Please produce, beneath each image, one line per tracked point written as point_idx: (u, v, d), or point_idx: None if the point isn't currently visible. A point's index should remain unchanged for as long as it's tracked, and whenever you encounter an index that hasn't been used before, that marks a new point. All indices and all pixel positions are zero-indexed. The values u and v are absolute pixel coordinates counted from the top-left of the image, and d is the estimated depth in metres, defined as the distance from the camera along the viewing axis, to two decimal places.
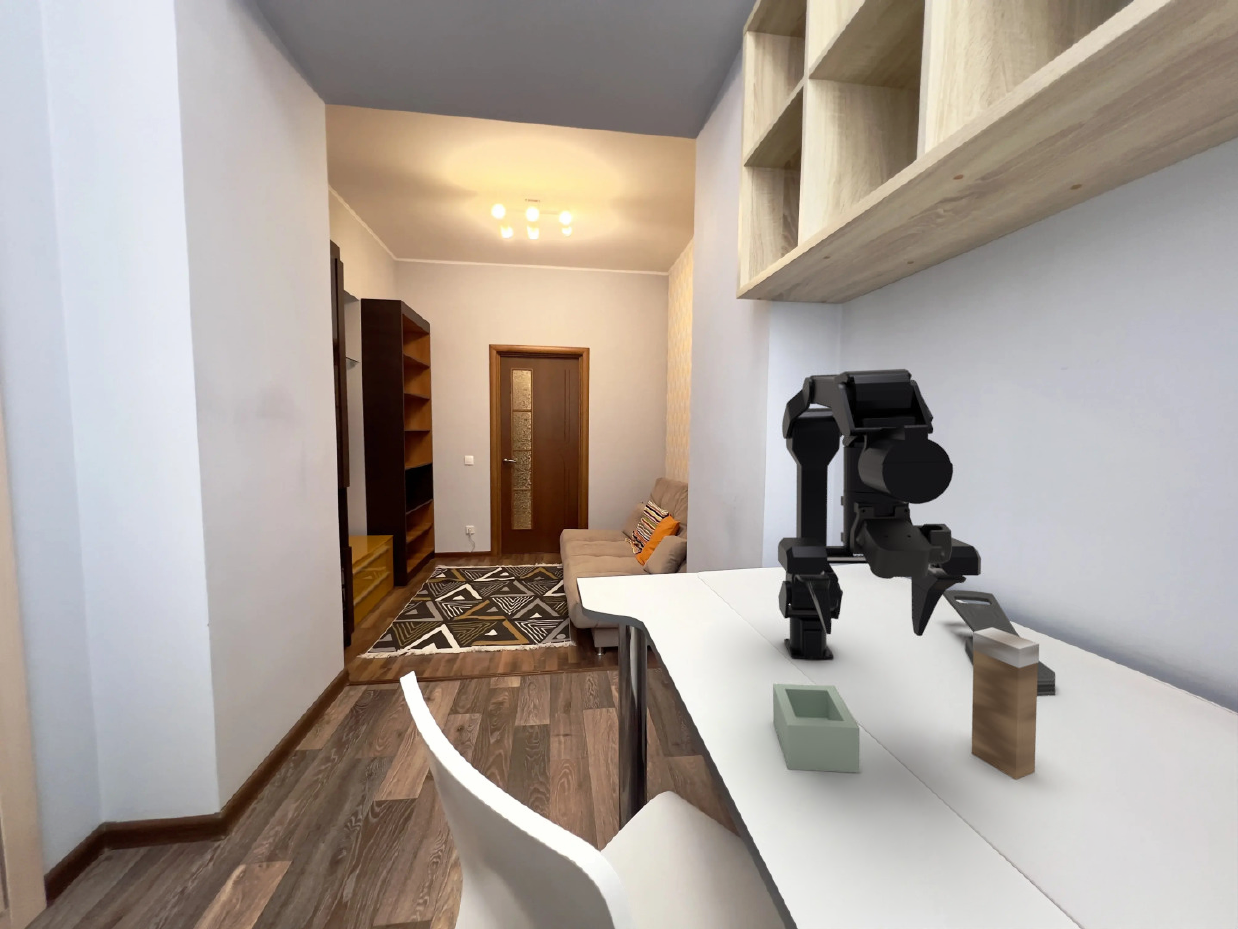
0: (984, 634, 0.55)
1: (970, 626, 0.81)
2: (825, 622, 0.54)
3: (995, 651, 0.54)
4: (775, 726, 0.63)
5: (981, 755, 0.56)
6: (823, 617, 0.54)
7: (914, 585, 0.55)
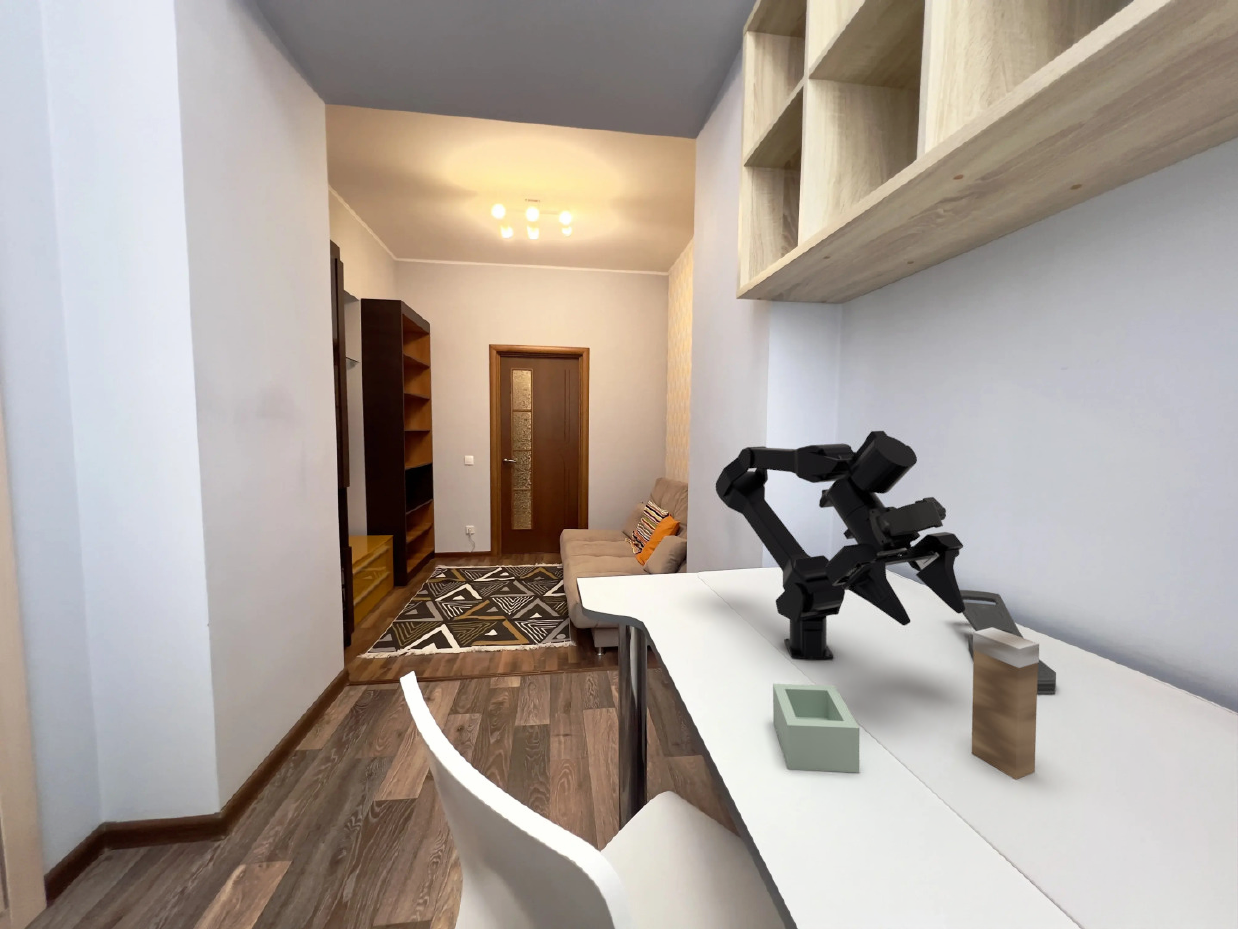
0: (984, 634, 0.55)
1: (973, 625, 0.81)
2: (901, 609, 0.60)
3: (995, 651, 0.54)
4: (775, 726, 0.63)
5: (981, 755, 0.56)
6: (897, 605, 0.61)
7: (930, 582, 0.67)
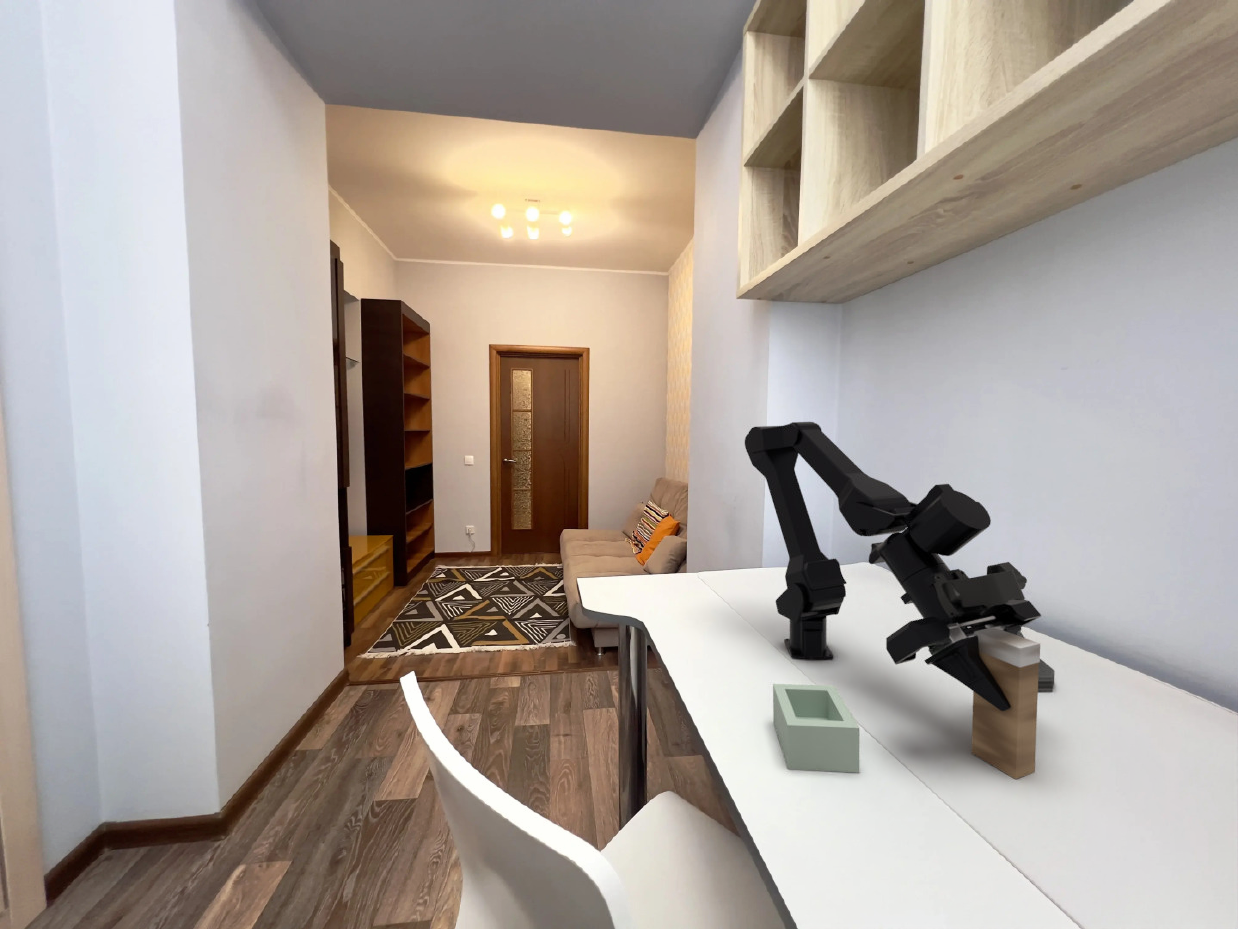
0: (985, 634, 0.55)
1: None
2: (999, 693, 0.53)
3: (996, 650, 0.54)
4: (775, 726, 0.63)
5: (981, 755, 0.56)
6: (994, 688, 0.53)
7: None
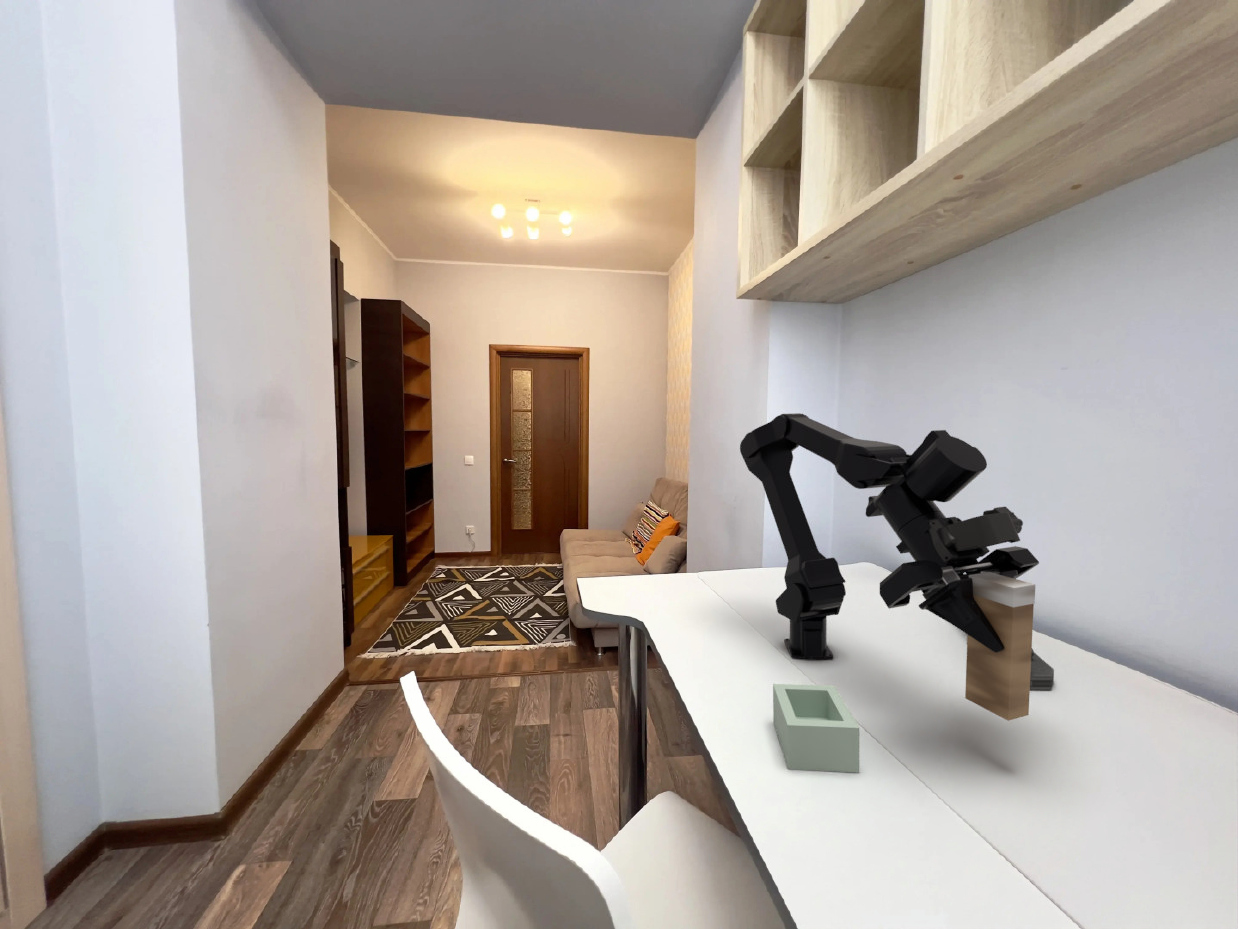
0: (980, 577, 0.55)
1: None
2: (993, 634, 0.53)
3: (990, 592, 0.53)
4: (775, 726, 0.63)
5: (974, 699, 0.55)
6: (988, 629, 0.53)
7: None
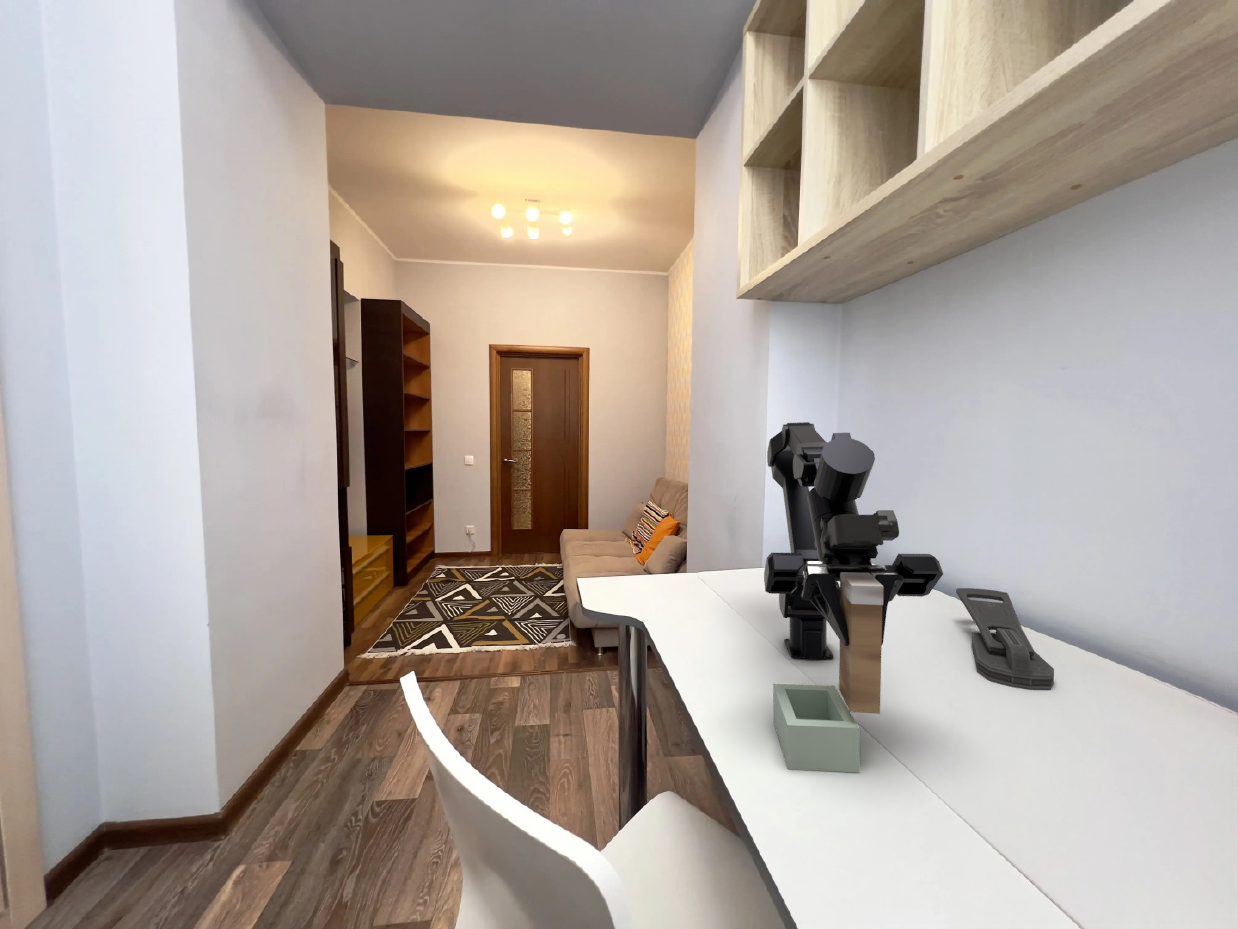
0: (846, 574, 0.57)
1: (976, 622, 0.82)
2: (841, 628, 0.55)
3: (845, 589, 0.56)
4: (775, 726, 0.63)
5: (841, 690, 0.58)
6: (838, 622, 0.56)
7: None
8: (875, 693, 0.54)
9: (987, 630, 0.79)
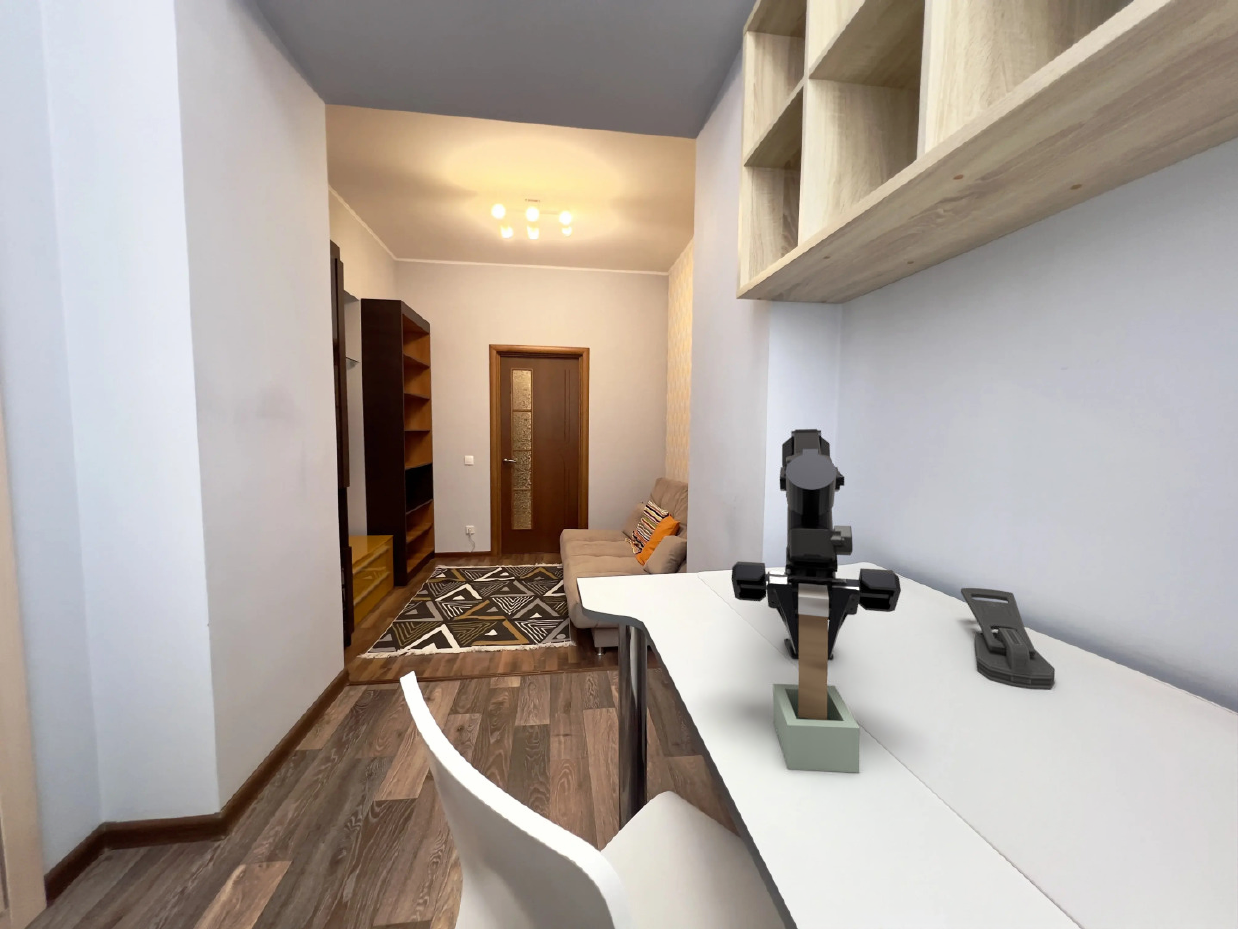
0: (802, 586, 0.59)
1: (978, 622, 0.83)
2: (792, 636, 0.58)
3: None
4: (775, 726, 0.63)
5: None
6: (790, 631, 0.59)
7: None
8: (822, 701, 0.56)
9: (989, 629, 0.79)
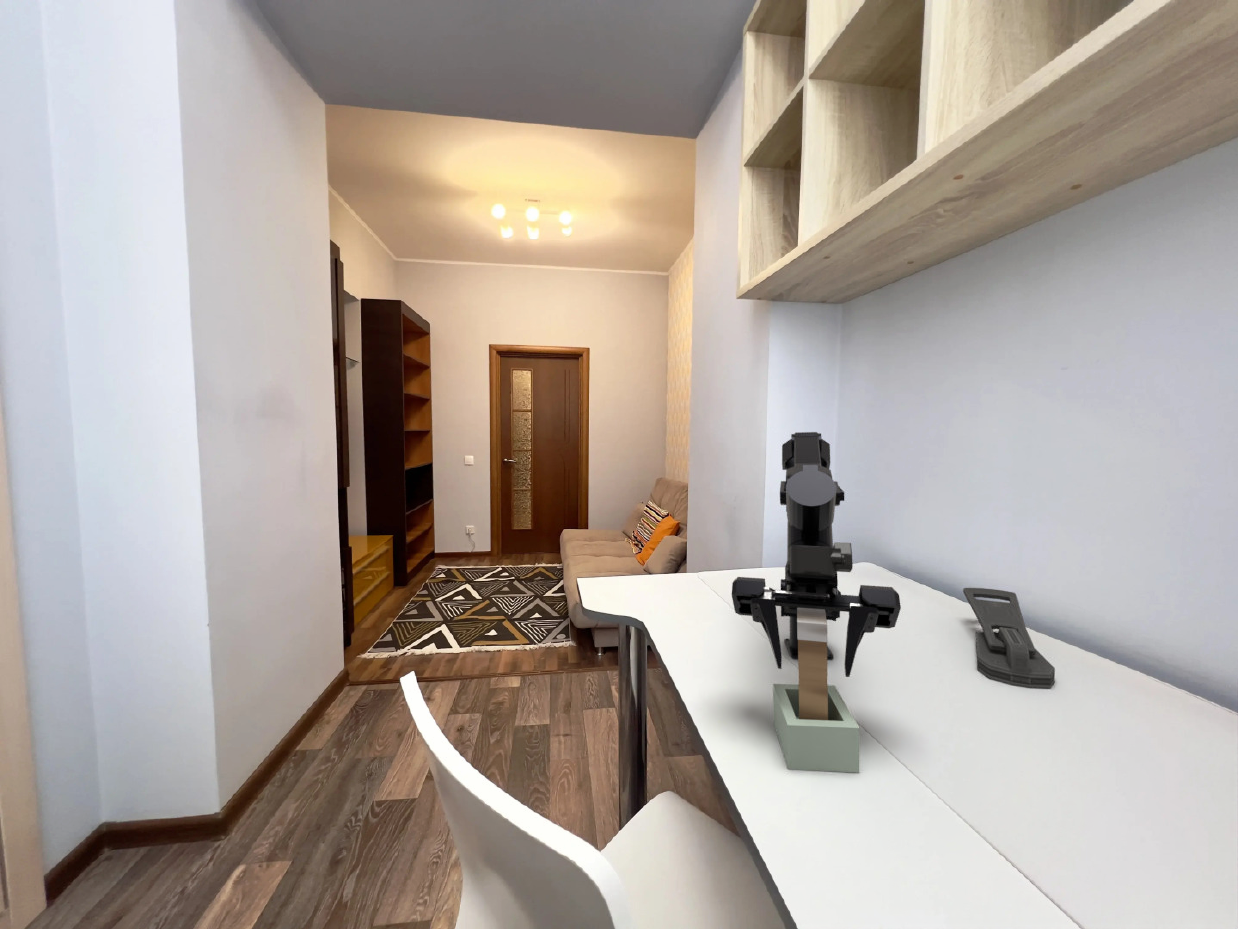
0: (800, 610, 0.60)
1: (980, 621, 0.83)
2: (775, 651, 0.59)
3: None
4: (775, 726, 0.63)
5: None
6: (773, 646, 0.59)
7: (846, 638, 0.60)
8: None
9: (990, 629, 0.80)
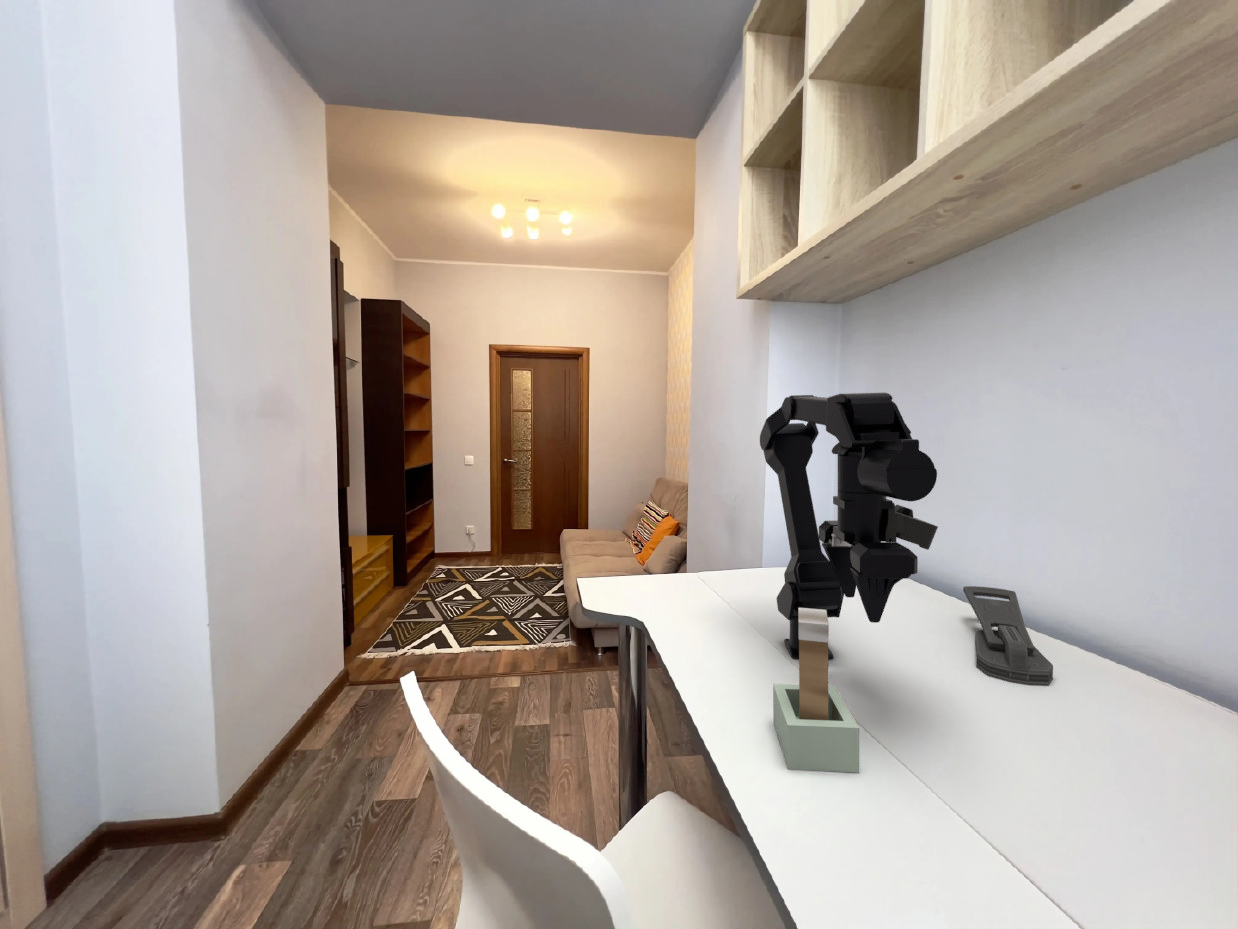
0: (802, 610, 0.60)
1: (979, 619, 0.84)
2: (882, 611, 0.61)
3: None
4: (775, 726, 0.63)
5: None
6: (884, 607, 0.61)
7: (838, 562, 0.71)
8: None
9: (989, 627, 0.80)
